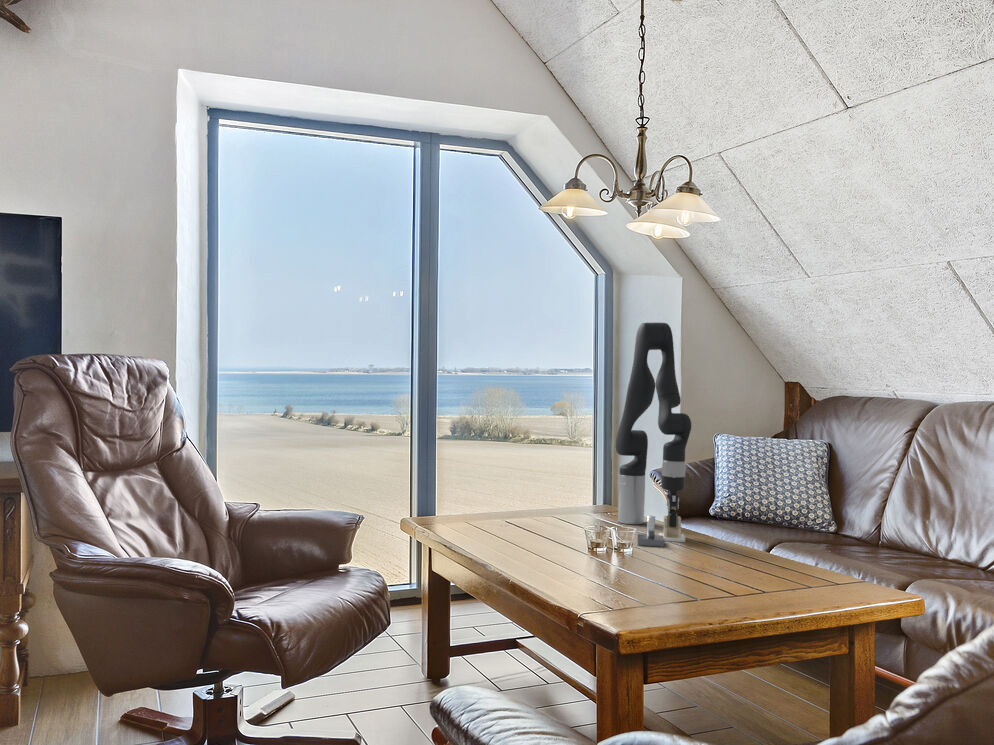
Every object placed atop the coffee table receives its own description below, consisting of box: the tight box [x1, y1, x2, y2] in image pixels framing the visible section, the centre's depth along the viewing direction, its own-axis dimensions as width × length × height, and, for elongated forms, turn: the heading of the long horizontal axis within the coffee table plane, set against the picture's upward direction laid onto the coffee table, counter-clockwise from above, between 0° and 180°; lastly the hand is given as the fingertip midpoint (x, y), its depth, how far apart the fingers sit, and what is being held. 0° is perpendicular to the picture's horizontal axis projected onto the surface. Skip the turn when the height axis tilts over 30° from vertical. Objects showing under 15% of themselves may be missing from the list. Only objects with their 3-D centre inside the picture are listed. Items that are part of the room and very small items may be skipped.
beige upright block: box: [662, 515, 682, 538], centre depth 267 cm, size 5×5×6 cm
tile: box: [658, 532, 686, 543], centre depth 267 cm, size 8×8×1 cm
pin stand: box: [637, 515, 665, 548], centre depth 258 cm, size 8×8×8 cm
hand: (672, 524), depth 267 cm, fingers open, 8 cm apart
